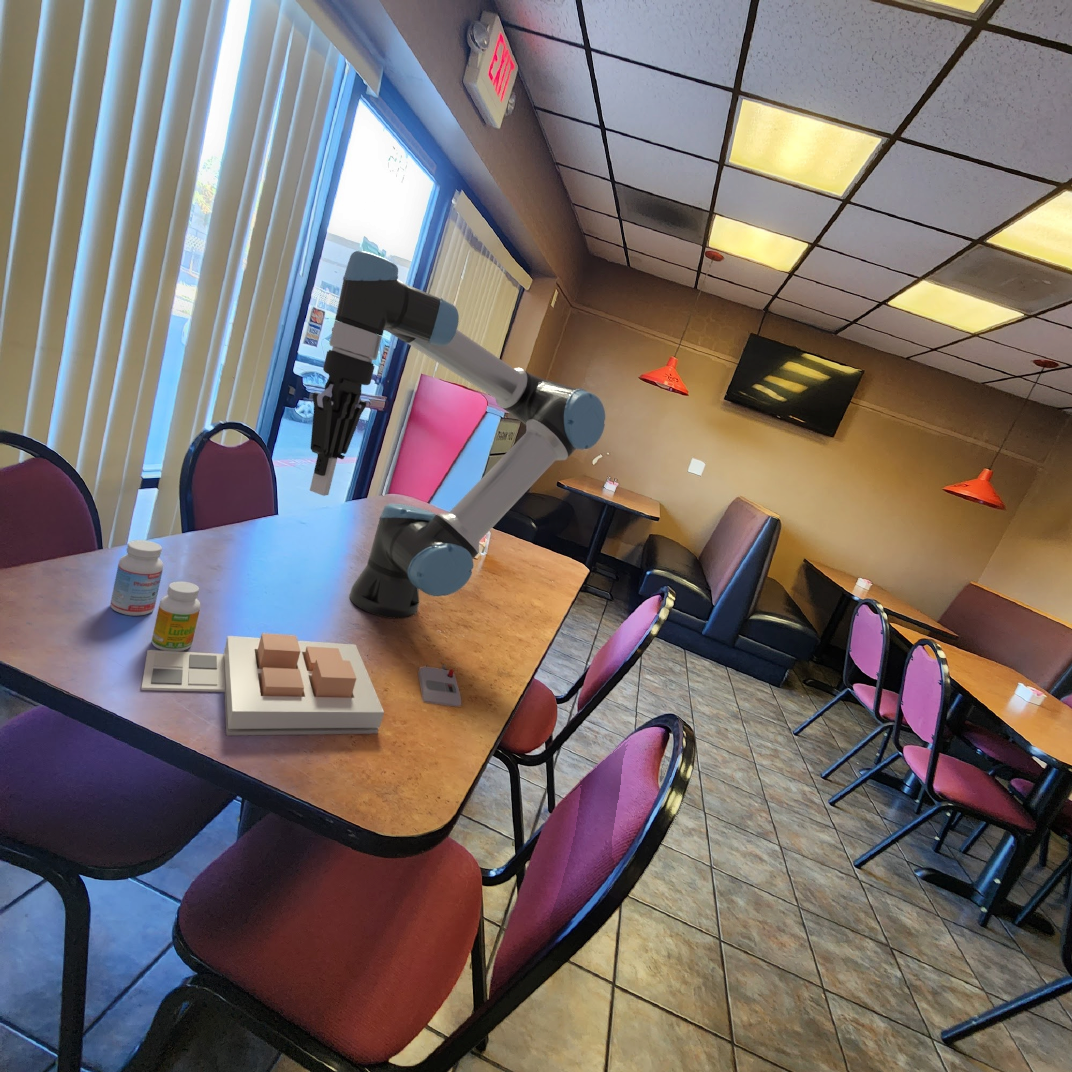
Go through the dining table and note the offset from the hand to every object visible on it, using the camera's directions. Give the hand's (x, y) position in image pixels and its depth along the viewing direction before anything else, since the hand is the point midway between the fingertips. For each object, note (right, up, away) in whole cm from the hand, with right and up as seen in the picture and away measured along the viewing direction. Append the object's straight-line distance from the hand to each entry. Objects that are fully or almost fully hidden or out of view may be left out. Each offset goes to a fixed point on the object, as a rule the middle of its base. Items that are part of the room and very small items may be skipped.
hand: (319, 492), depth 99 cm
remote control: (+19, -35, +5) cm, 40 cm away
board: (+1, -31, -11) cm, 33 cm away
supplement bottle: (-19, -24, -9) cm, 32 cm away
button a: (0, -31, -16) cm, 34 cm away
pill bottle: (-29, -20, -4) cm, 35 cm away
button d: (+3, -29, -6) cm, 30 cm away
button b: (-3, -27, -10) cm, 29 cm away
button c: (+6, -30, -12) cm, 33 cm away
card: (-14, -27, -15) cm, 34 cm away
